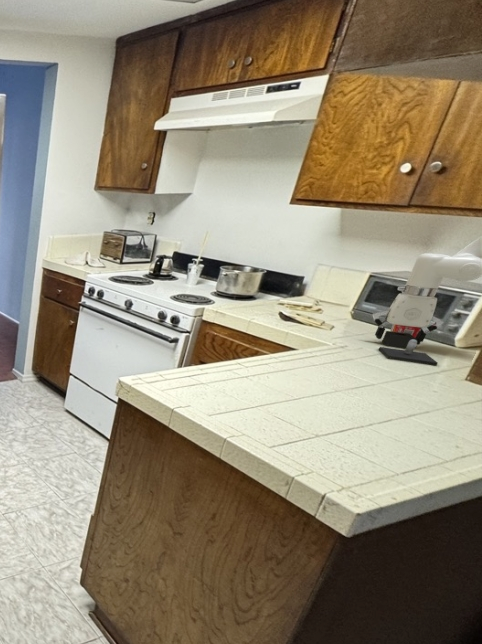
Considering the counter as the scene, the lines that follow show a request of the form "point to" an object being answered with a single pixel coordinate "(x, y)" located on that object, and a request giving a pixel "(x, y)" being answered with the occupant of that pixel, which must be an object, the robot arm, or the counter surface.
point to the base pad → (408, 354)
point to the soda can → (405, 329)
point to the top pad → (397, 339)
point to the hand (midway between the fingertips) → (397, 340)
